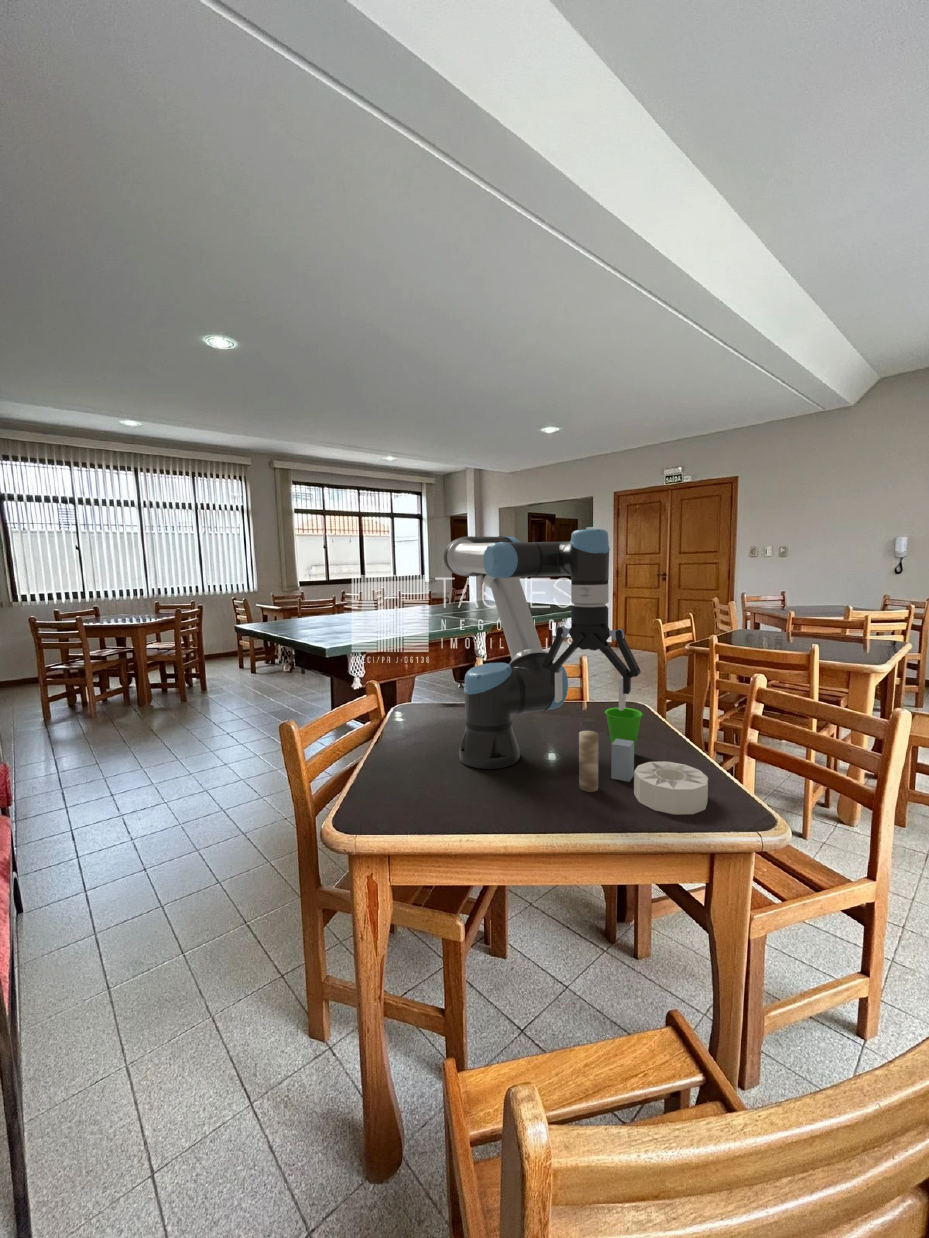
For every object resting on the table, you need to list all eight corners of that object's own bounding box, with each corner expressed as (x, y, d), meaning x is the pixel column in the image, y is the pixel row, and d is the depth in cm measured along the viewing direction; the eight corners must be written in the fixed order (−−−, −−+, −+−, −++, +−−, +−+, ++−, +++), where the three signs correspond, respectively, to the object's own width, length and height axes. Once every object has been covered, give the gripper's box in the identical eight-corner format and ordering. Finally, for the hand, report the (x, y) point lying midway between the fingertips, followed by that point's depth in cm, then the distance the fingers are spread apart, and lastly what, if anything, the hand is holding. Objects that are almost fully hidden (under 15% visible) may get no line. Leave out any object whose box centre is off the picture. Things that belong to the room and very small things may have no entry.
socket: (628, 804, 100) (628, 780, 100) (642, 778, 112) (643, 757, 111) (702, 820, 93) (703, 794, 93) (709, 791, 105) (710, 768, 104)
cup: (644, 762, 121) (645, 718, 120) (605, 760, 123) (606, 717, 121) (639, 749, 129) (640, 707, 128) (603, 747, 131) (603, 706, 130)
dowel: (576, 789, 108) (576, 735, 106) (582, 782, 111) (582, 729, 110) (595, 793, 106) (595, 738, 104) (600, 785, 109) (600, 732, 108)
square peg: (611, 778, 113) (611, 743, 112) (615, 771, 116) (616, 738, 115) (629, 781, 111) (629, 746, 110) (633, 775, 114) (634, 741, 113)
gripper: (526, 605, 107) (527, 702, 110) (649, 608, 95) (647, 717, 97) (540, 602, 114) (541, 694, 116) (656, 604, 101) (654, 707, 103)
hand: (589, 704), depth 106 cm, fingers open, 13 cm apart
